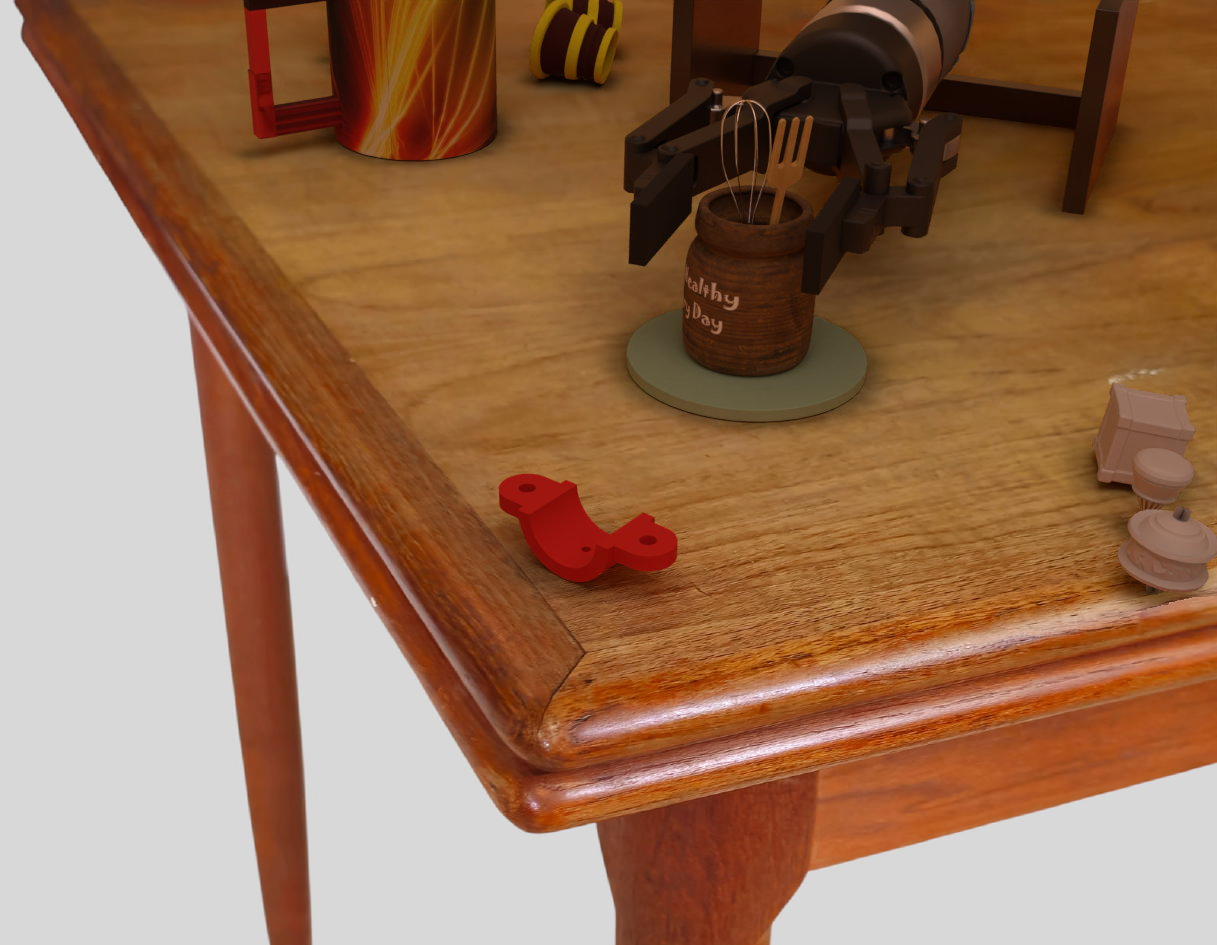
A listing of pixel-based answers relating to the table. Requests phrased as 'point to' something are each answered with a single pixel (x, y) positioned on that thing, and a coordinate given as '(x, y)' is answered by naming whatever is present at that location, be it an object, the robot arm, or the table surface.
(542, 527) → the pipe clamp
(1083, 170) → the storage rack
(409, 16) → the mug
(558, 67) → the opera glasses
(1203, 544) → the toy set
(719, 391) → the rubber mat
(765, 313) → the utensil holder
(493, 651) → the table surface
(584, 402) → the table surface
